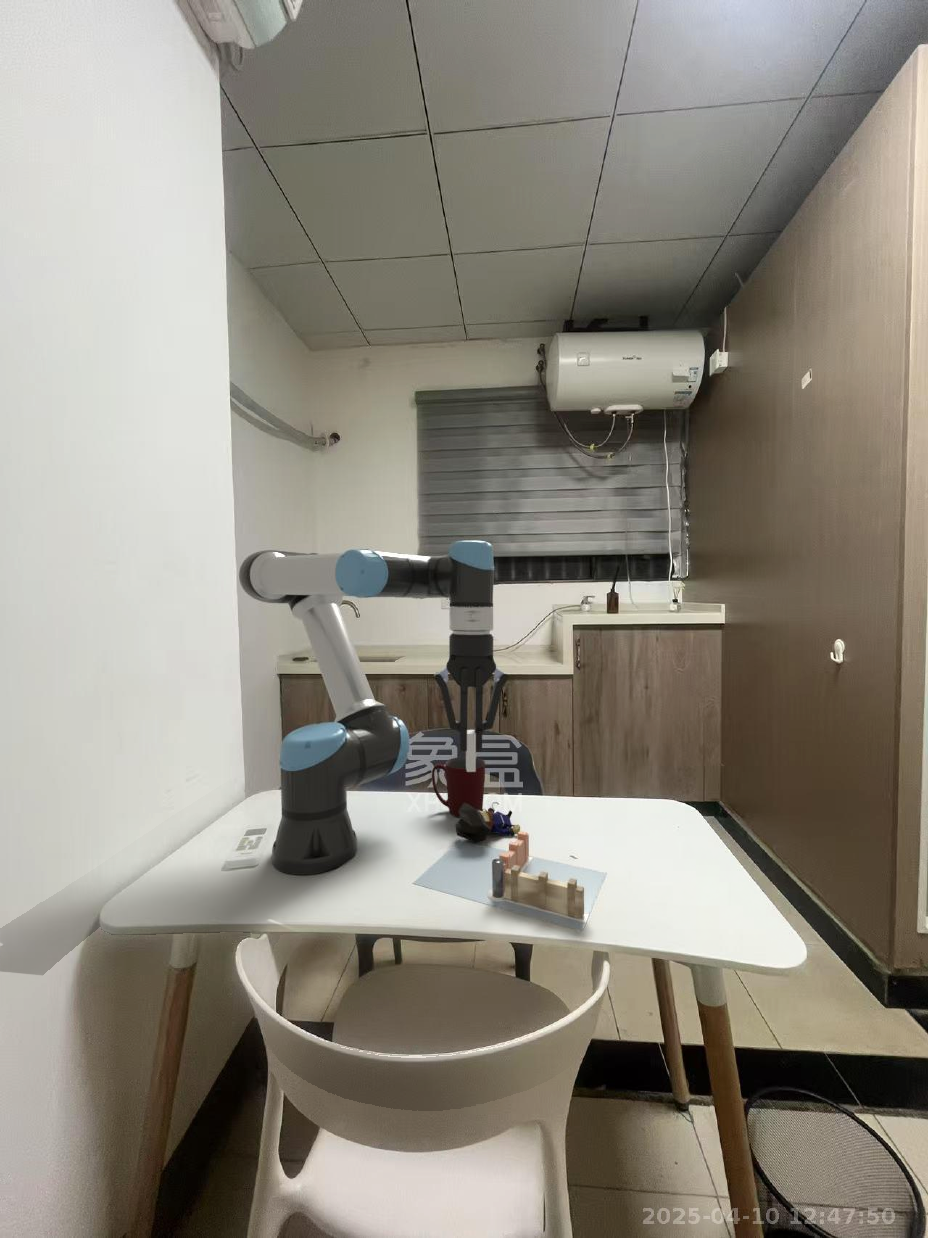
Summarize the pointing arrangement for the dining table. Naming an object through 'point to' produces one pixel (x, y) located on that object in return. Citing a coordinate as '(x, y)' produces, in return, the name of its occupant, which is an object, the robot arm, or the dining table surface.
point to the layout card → (472, 879)
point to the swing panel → (516, 852)
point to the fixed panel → (544, 892)
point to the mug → (462, 784)
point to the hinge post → (497, 878)
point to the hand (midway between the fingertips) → (470, 769)
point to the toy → (483, 823)
